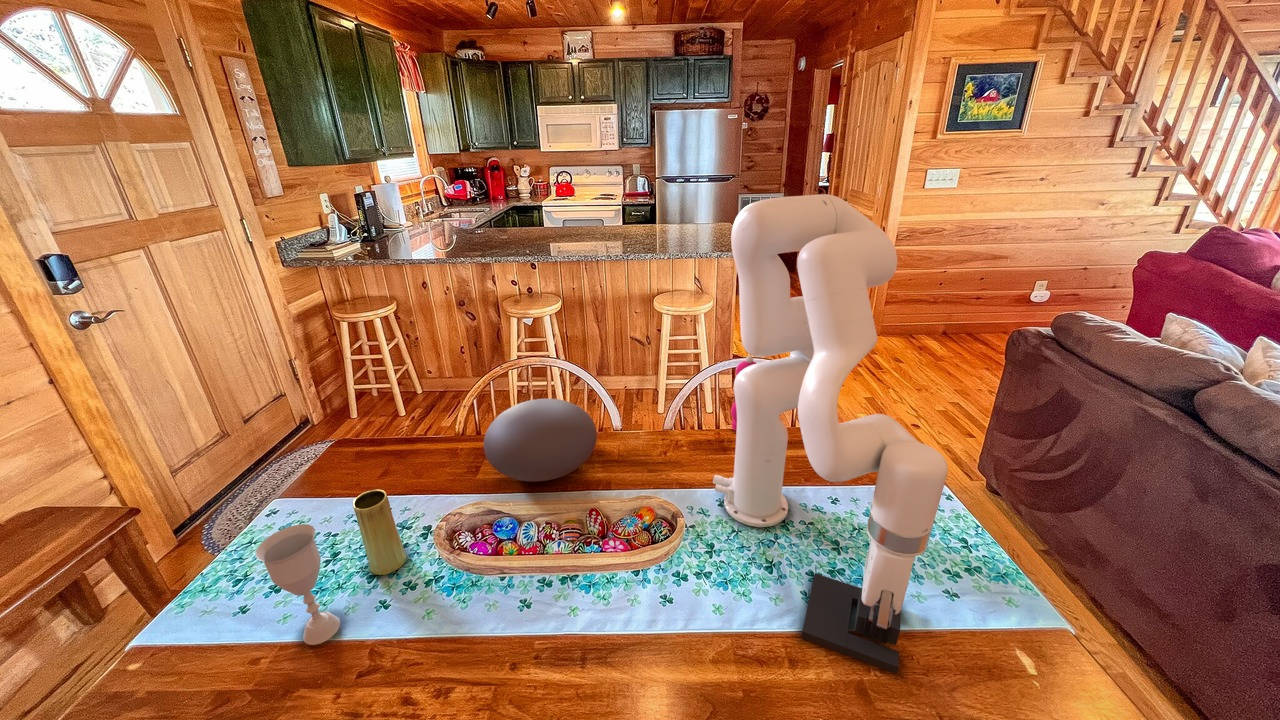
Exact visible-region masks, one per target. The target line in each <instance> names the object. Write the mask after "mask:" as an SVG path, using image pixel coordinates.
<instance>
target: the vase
mask: <svg viewBox="0 0 1280 720" xmlns="http://www.w3.org/2000/svg"><path fill="white" fill-rule="evenodd" d="M352 508H353V510H354V514H355V517H356V521H357V524H358V528H359V532H360V535H361V539H362V543H363V546H364V550H365V554H366V557H367V561H368V569H369V571H370V572H371V573H372V574H373V575H377V576H385V575H389V574H392V573H393V572H396V571H397V570H398V569H400V568H401V567H402V566H403V565H404V564H405V562H406V560H407V558H408V557H407V556H408V555H407V553H406V551H405V548H404V545H403V542H402V539H401V536H400V534H399V531H398V527H397V525H396V522H395V518H394V515H393V512H392V508H391V503H390V499H389V497H388V494H387V492H386V491H384V490H383V489H371V490H367V491H364V492H362V493H360V494H359V495H358V496H356V497H355V498H354V499H353V501H352Z"/></svg>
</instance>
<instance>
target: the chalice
mask: <svg viewBox="0 0 1280 720" xmlns="http://www.w3.org/2000/svg"><path fill="white" fill-rule="evenodd" d="M315 536H316V529H315V527H314V526H313V525H310V524H302V523H300V524H295V525H291V526H287V527H285V528H282V529H280V530H278V531H276V532H274V533H272V534H271V535H269V536H267V538H265V539H264V540H263V541H262V542H261V543H260V544H259V545H258V547H257V548H256V549H255V555H254V556H255V558H256V560H257V561H259V562H262V563H263V564H264V566H265V568H266V571H267V573H268V575H269V577H270V580H271V581H272V584H273V585H276V586H277V587H279V588H280V589H281V590H283V591H285V592H288V593H290V594H292V595H295V596H303V601H302V603H303V604H305V605H307V607H306V609H305V612H306V613H307V614H310V616H311V617H309V618H308V620H307V621H306V622H305V625H304V630H303V635H302V640H303V642H304V643H305V644H306V645H308V646H315V645H320V644H322V643H325V642H326V641H328V640H329V639H332V637H333V636H334V635H335V634H336V633H337V632H338V631H339V630H340V626H341V620H340V618H339V616H336V615H335V614H333V613H332V612H330V611H320V610H319V609H320V606H321V604H320V603H319V602H316V598H317V597H316V596H317V595H315V594H313V593H312V590H313V589H314V588H315V587H316V585H317V580H318V578H319V575H320V571H321V570H320V569H321V554H320V551H319V549H318V546H317V543H316V541H315Z"/></svg>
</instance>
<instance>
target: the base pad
mask: <svg viewBox="0 0 1280 720" xmlns="http://www.w3.org/2000/svg"><path fill="white" fill-rule="evenodd" d="M861 588H862V587H860V586H856V585H852V584H849V583H847V582H843V581H840V580H838V579H834V578H831V577H828V576H825V575H822V574H819V573H816V572H815V573H814V575H813V579H812V584H811V588H810V593H809V598H808V602H807V607H806V612H805V617H804V619H803V620H804V621H803V625H802V629H801V635H800V638H801V639H803V640H806V641H807V642H811V643H813V644H816V645H818V646H821V647H824V648H827V649H830V650H832V651H835V652H838V653H839V654H841V655H844V656H845V655H846V656H848V657H851V658H853V659H855V660H858V661H861V662H864V663H867V664H869V665H871V666H873V667H876V668H880V669H883V670H885V671H888V672H890V673H893V674H895V675H896V674H897V673H898V671H899V664H900V663H899V662H900V651H899V650H897V649H894V648H891V647H889V646H885V645H883V644H880V643H877V642H875V641H873V640H868V639H866V638H864V637H860V636H858V635H855V634H852V633H850V632H849V629H850V622H851V615H852V608H853V607H852V606H854V607H857V604H858V599H859V594H860V589H861Z"/></svg>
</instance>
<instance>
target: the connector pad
mask: <svg viewBox="0 0 1280 720" xmlns="http://www.w3.org/2000/svg"><path fill="white" fill-rule="evenodd" d="M860 588H861V589H860V594H859V599H858V604H857V606H856V614H855V623H854V632H856V633H859V634H862V635H863V630H864V625H865V621H866V617H867V614H869V613H870V608H871V607H870V606H867V605H864V603H863V602H862V587H860ZM880 599H881V598H880ZM880 599H879V600H880ZM878 612H879V607H875V614H878ZM901 615H902V609H901V610H900V612H899V613H898V614H896V615H894V613H893V615H892V620H891V622H892V625H891V629H890V633H889V637H888V640H887V643H886V644H891V645H893V646H897V645H898V641H899V636H900V633H901V620H902V619H901Z"/></svg>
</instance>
